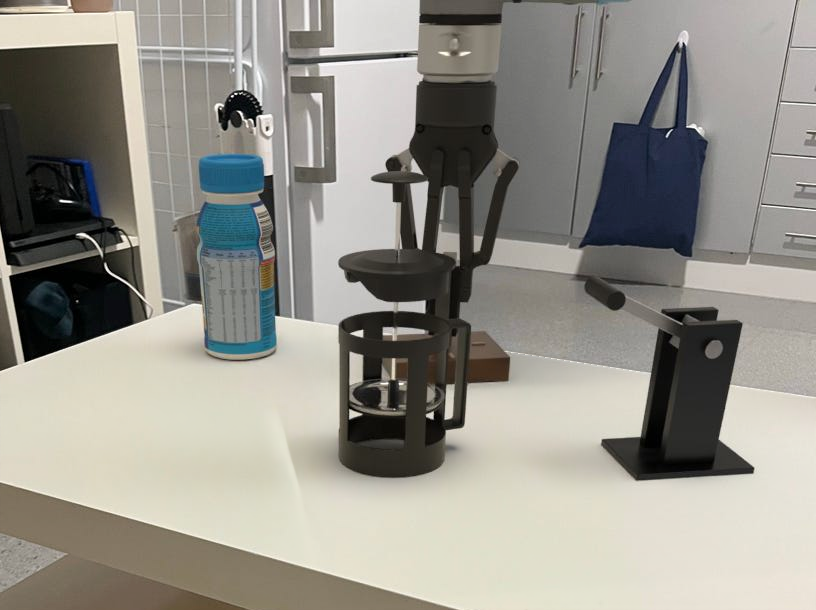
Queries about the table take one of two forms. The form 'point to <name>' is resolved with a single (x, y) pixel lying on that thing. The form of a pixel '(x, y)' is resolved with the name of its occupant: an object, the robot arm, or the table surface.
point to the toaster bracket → (686, 403)
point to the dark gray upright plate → (445, 296)
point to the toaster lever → (634, 307)
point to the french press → (391, 397)
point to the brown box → (483, 359)
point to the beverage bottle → (236, 258)
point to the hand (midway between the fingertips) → (443, 332)
